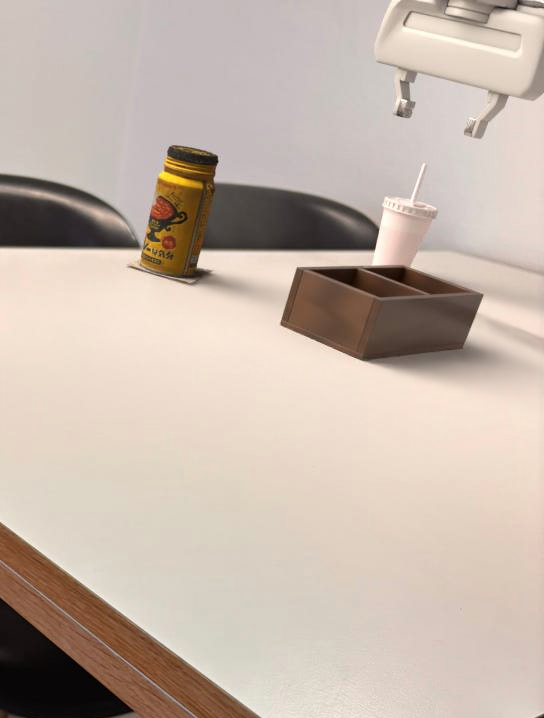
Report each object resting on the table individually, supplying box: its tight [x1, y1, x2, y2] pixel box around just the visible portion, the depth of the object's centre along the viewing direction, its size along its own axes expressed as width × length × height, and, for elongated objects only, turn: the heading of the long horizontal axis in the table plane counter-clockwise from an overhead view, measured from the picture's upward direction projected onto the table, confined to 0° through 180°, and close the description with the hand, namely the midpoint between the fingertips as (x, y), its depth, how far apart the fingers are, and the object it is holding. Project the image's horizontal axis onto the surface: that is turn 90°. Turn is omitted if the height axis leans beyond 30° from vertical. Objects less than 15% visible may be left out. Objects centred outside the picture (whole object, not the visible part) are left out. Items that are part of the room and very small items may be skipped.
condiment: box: [126, 144, 219, 284], centre depth 111 cm, size 7×8×12 cm
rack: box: [279, 265, 485, 361], centre depth 105 cm, size 10×19×6 cm, turn 132°
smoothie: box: [371, 163, 439, 268], centre depth 125 cm, size 6×6×14 cm
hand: (435, 126), depth 120 cm, fingers open, 8 cm apart
